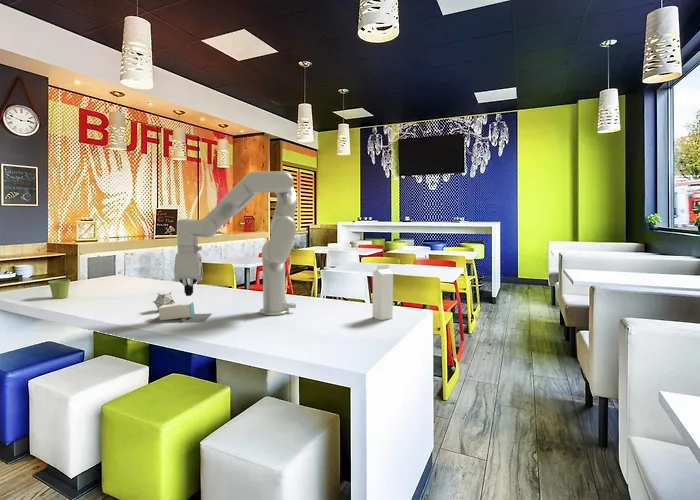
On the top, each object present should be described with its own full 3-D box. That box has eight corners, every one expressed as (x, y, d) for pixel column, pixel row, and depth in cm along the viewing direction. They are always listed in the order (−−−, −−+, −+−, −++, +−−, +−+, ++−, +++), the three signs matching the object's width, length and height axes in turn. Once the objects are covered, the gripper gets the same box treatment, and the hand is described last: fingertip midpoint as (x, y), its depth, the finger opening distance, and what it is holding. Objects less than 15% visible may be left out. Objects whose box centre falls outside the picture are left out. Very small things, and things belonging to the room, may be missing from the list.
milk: (392, 318, 163) (393, 265, 162) (380, 320, 160) (381, 266, 158) (383, 315, 169) (384, 263, 167) (371, 317, 165) (372, 264, 163)
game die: (166, 320, 173) (164, 305, 166) (150, 312, 174) (147, 297, 168) (180, 306, 180) (178, 291, 173) (164, 299, 181) (162, 284, 175)
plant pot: (44, 299, 196) (43, 282, 195) (56, 296, 206) (55, 279, 205) (64, 299, 197) (63, 282, 196) (75, 295, 206) (74, 279, 206)
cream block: (193, 302, 163) (162, 305, 162) (189, 304, 158) (158, 307, 157) (194, 313, 163) (164, 317, 162) (191, 316, 158) (160, 320, 157)
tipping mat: (212, 314, 169) (212, 311, 169) (204, 322, 155) (204, 320, 155) (160, 315, 166) (160, 312, 166) (147, 324, 152) (147, 321, 152)
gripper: (209, 249, 163) (210, 293, 165) (171, 249, 161) (172, 293, 163) (204, 250, 156) (205, 296, 157) (164, 250, 154) (166, 297, 156)
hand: (189, 295), depth 160 cm, fingers closed
